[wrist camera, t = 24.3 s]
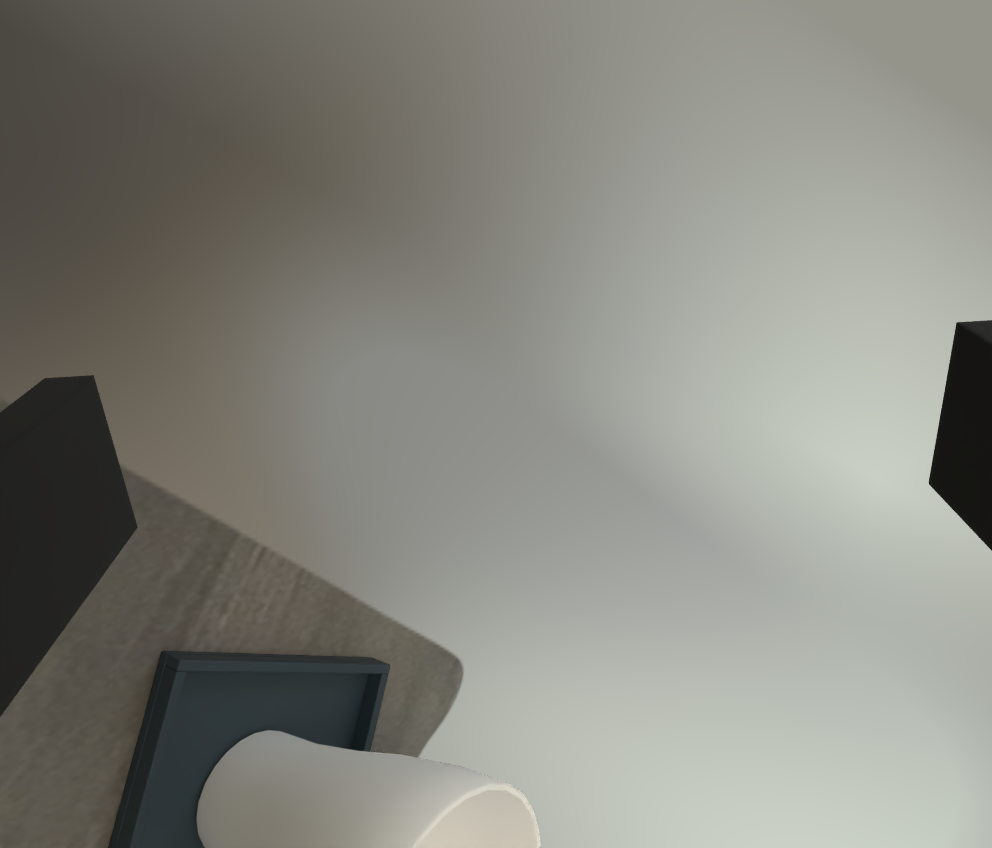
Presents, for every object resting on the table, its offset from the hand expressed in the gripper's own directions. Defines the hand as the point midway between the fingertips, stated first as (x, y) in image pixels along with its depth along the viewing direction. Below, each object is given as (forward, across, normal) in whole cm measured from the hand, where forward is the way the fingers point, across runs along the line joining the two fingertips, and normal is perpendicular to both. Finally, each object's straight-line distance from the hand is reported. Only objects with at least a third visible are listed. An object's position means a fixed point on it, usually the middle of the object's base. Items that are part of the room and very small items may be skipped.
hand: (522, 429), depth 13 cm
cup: (+17, -14, -27) cm, 35 cm away
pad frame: (+18, -14, -27) cm, 35 cm away
